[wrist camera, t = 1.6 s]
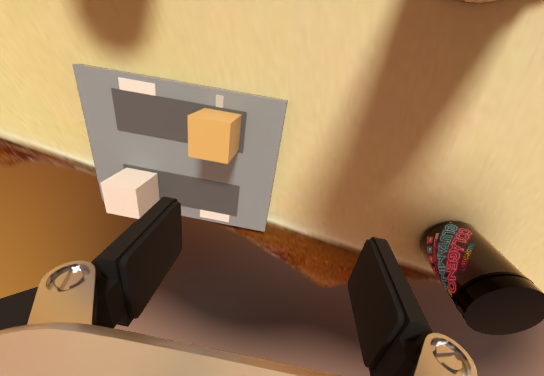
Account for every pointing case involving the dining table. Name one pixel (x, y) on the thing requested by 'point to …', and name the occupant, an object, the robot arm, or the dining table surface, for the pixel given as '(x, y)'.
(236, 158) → the switch board
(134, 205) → the pale pink cube
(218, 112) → the orange cube
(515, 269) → the supplement container
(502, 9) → the dining table surface
